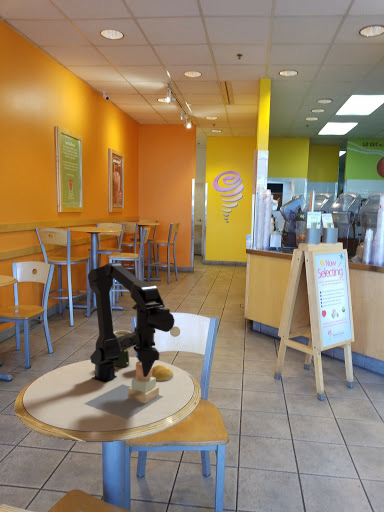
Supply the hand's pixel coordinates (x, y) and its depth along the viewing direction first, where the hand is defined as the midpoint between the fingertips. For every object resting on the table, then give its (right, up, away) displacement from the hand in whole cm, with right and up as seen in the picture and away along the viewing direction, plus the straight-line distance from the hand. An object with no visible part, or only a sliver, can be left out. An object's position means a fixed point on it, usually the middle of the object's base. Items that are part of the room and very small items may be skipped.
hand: (144, 373), depth 129 cm
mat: (-6, -8, -2) cm, 10 cm away
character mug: (-12, -6, +30) cm, 33 cm away
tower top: (0, -5, 0) cm, 5 cm away
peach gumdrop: (0, -1, 0) cm, 1 cm away
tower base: (0, -8, +1) cm, 8 cm away
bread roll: (+4, -7, +19) cm, 21 cm away
